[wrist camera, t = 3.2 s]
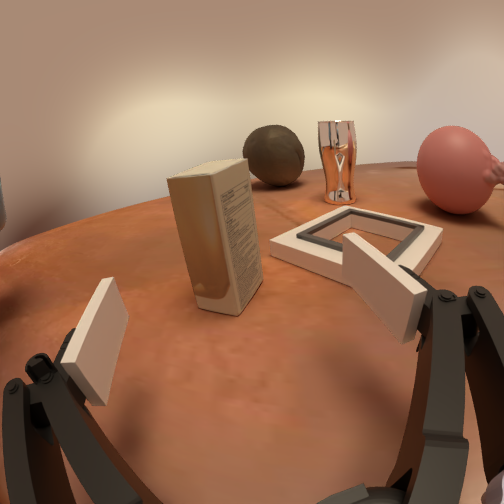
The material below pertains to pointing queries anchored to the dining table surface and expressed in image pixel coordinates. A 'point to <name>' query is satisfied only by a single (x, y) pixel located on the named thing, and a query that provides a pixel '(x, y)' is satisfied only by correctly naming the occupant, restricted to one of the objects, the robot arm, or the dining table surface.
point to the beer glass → (338, 160)
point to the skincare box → (218, 233)
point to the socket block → (336, 222)
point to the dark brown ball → (274, 155)
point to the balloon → (457, 170)
